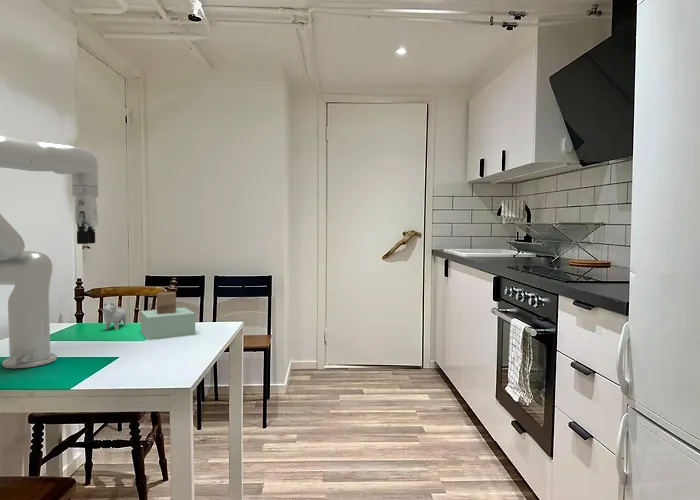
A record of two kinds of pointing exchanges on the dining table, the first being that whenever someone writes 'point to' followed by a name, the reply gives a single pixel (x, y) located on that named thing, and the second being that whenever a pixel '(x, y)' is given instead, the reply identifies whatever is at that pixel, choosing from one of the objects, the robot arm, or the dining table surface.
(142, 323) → the sage box
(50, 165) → the robot arm
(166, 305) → the walnut block
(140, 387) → the dining table surface
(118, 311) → the white dog figurine
